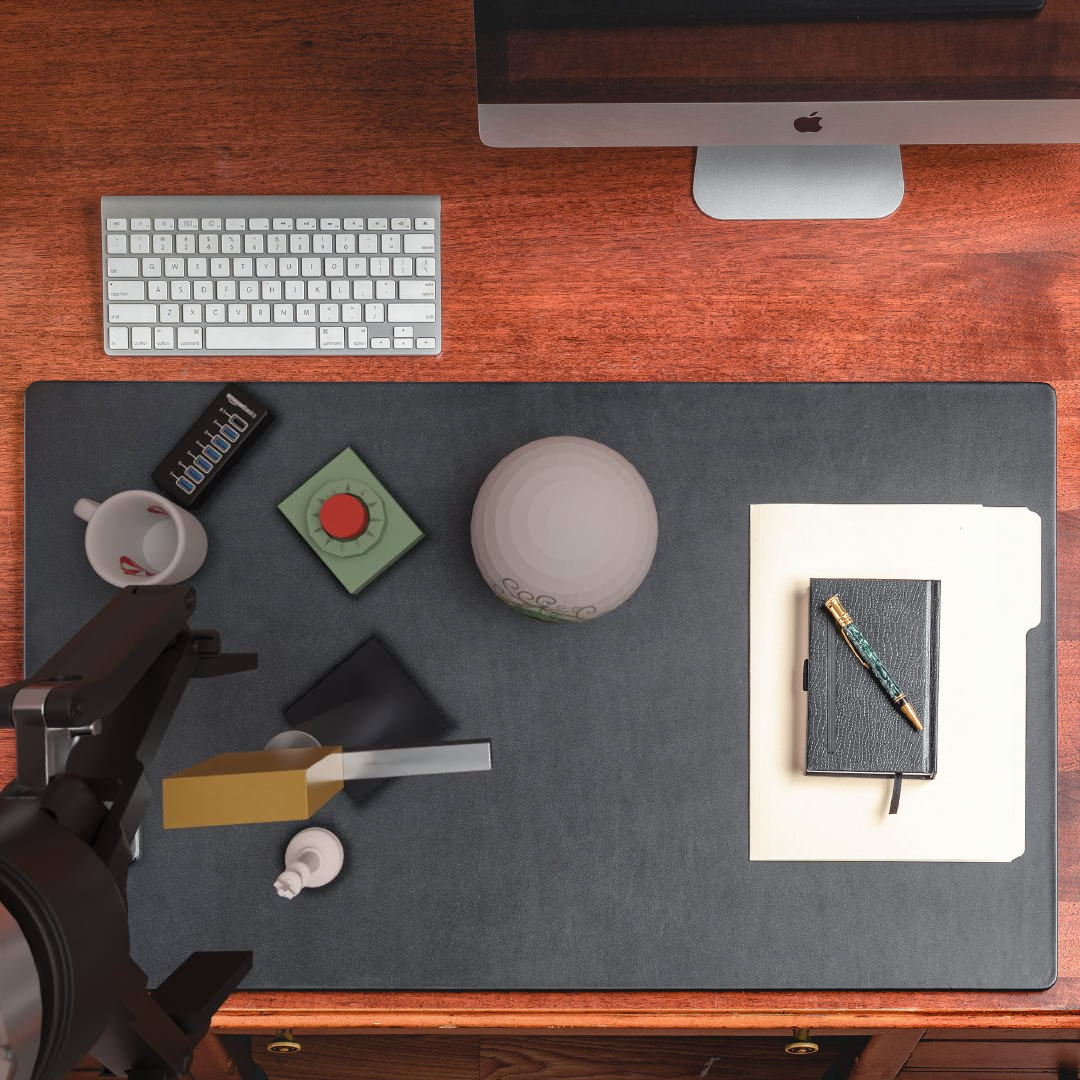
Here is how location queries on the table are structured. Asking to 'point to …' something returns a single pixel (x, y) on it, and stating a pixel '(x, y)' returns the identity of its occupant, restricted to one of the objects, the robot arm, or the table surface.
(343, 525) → the button
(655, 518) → the decorative object
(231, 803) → the tap handle
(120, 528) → the cup
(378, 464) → the table surface
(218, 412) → the multiport hub
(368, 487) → the button box
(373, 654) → the faucet body
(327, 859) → the chess piece
